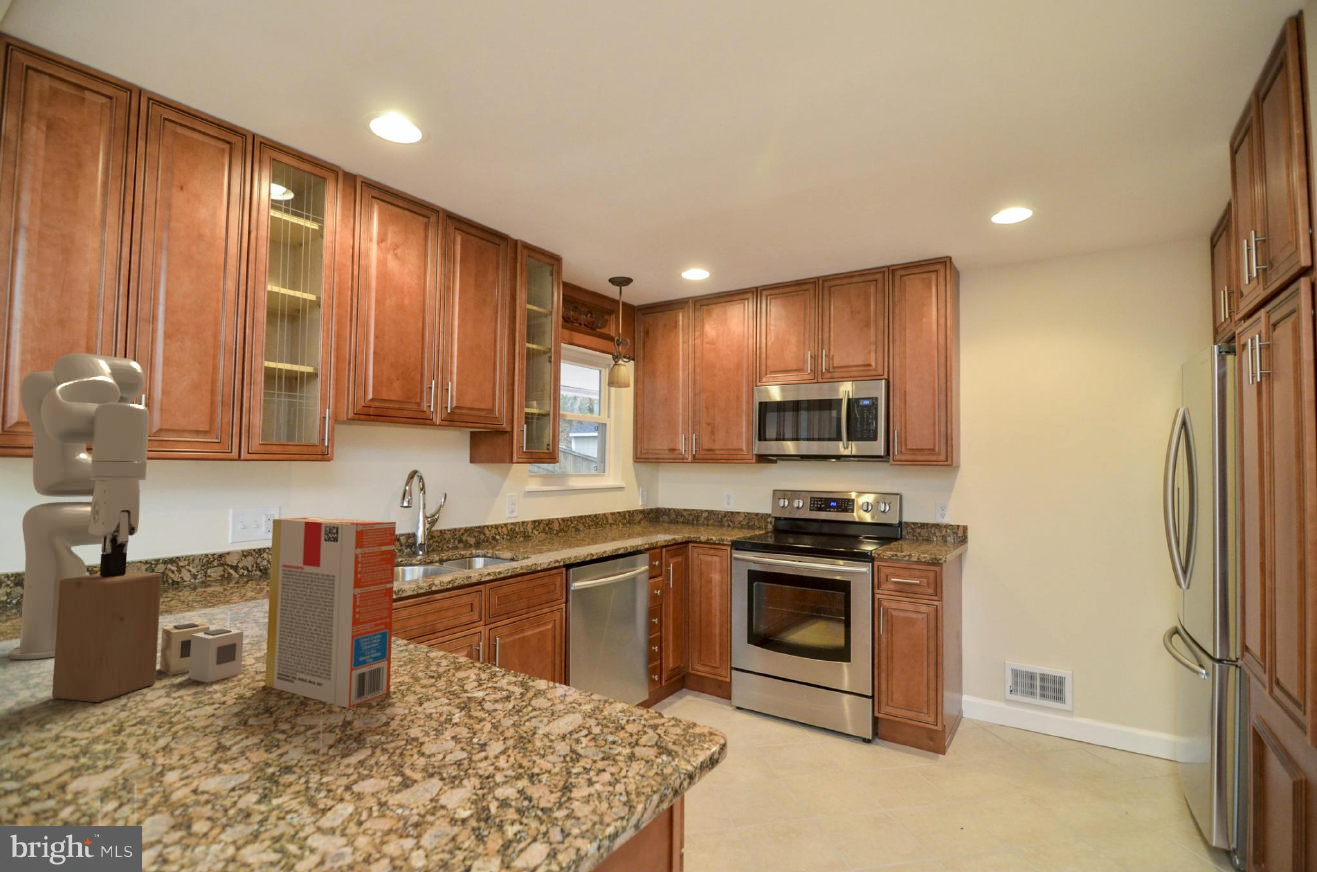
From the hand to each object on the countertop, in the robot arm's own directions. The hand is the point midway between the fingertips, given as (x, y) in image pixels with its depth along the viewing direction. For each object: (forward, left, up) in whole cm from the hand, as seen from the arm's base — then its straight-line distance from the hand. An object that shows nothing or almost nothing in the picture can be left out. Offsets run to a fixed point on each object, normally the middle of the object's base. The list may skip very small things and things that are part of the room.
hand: (112, 575), depth 112 cm
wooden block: (0, 0, -20) cm, 20 cm away
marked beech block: (-5, +13, -20) cm, 24 cm away
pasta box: (+29, +24, -20) cm, 43 cm away
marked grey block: (+5, +15, -20) cm, 26 cm away
